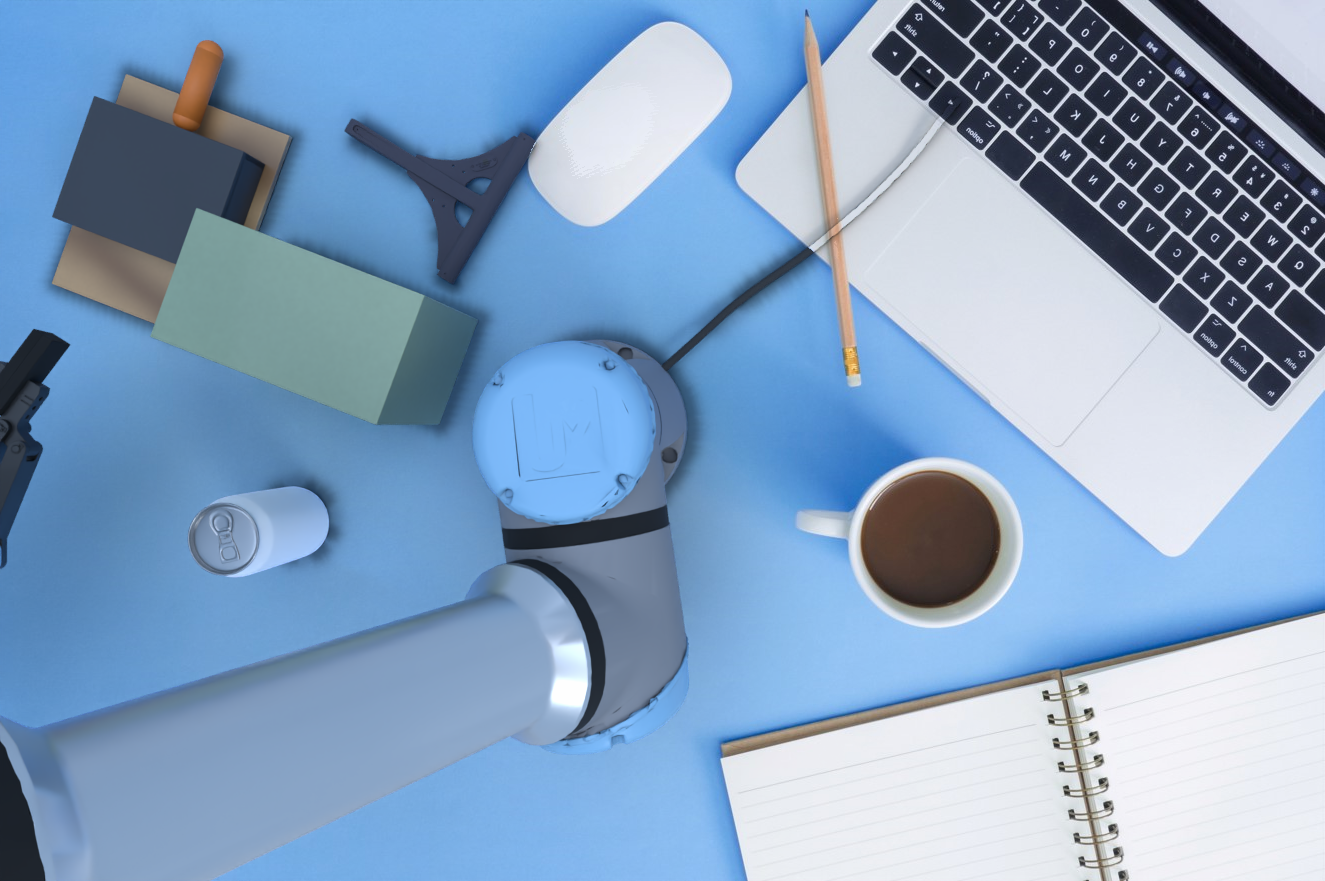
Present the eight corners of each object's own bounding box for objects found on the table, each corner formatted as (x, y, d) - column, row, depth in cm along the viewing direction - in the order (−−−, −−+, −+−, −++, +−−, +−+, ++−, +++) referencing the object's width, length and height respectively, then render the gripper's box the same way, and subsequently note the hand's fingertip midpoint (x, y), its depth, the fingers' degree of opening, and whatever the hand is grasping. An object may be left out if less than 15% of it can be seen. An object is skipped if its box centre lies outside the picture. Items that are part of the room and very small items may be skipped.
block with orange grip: (81, 226, 79) (152, 23, 78) (224, 280, 78) (296, 76, 78) (51, 217, 75) (125, 3, 75) (200, 273, 75) (276, 59, 74)
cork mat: (130, 76, 79) (125, 73, 79) (292, 137, 79) (289, 135, 78) (56, 284, 80) (51, 283, 79) (216, 347, 79) (212, 346, 79)
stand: (293, 248, 79) (196, 207, 64) (478, 319, 78) (424, 295, 63) (254, 353, 79) (149, 336, 64) (439, 424, 78) (376, 425, 63)
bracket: (395, 60, 78) (384, 47, 75) (538, 144, 77) (531, 134, 75) (315, 201, 79) (300, 193, 76) (456, 286, 78) (446, 281, 75)
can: (321, 478, 79) (252, 488, 67) (339, 548, 79) (273, 570, 67) (253, 495, 79) (172, 508, 67) (270, 564, 79) (193, 590, 67)
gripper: (-201, 554, 65) (-2, 293, 67) (-35, 646, 67) (152, 389, 69) (-291, 569, 57) (-64, 275, 60) (-102, 671, 59) (111, 383, 62)
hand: (52, 336), depth 64 cm, fingers closed
